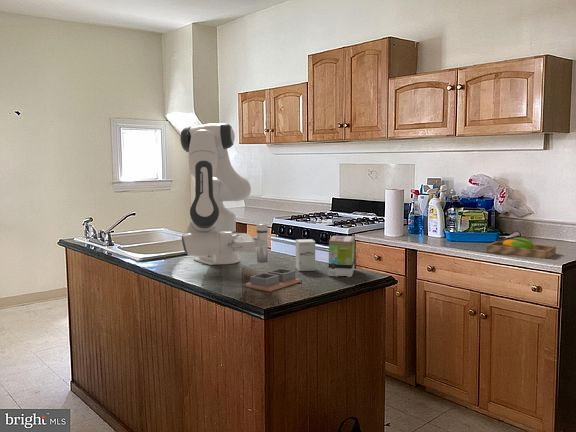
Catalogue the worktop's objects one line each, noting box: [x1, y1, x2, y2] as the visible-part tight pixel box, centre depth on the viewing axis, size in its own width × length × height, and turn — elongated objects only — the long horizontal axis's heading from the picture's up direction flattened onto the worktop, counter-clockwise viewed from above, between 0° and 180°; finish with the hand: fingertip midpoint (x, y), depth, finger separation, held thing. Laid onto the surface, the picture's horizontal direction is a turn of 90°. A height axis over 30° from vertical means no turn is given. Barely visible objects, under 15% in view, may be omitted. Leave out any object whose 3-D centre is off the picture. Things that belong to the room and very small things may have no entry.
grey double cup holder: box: [245, 267, 301, 292], centre depth 205 cm, size 12×18×4 cm, turn 141°
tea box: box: [327, 235, 356, 278], centre depth 223 cm, size 15×10×15 cm
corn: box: [502, 237, 535, 249], centre depth 264 cm, size 7×8×20 cm
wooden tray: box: [486, 240, 557, 259], centre depth 263 cm, size 28×15×4 cm, turn 51°
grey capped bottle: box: [256, 223, 269, 264], centre depth 200 cm, size 4×4×14 cm
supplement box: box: [295, 238, 316, 272], centre depth 230 cm, size 7×7×13 cm
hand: (264, 241), depth 200 cm, fingers closed on grey capped bottle, 4 cm apart
